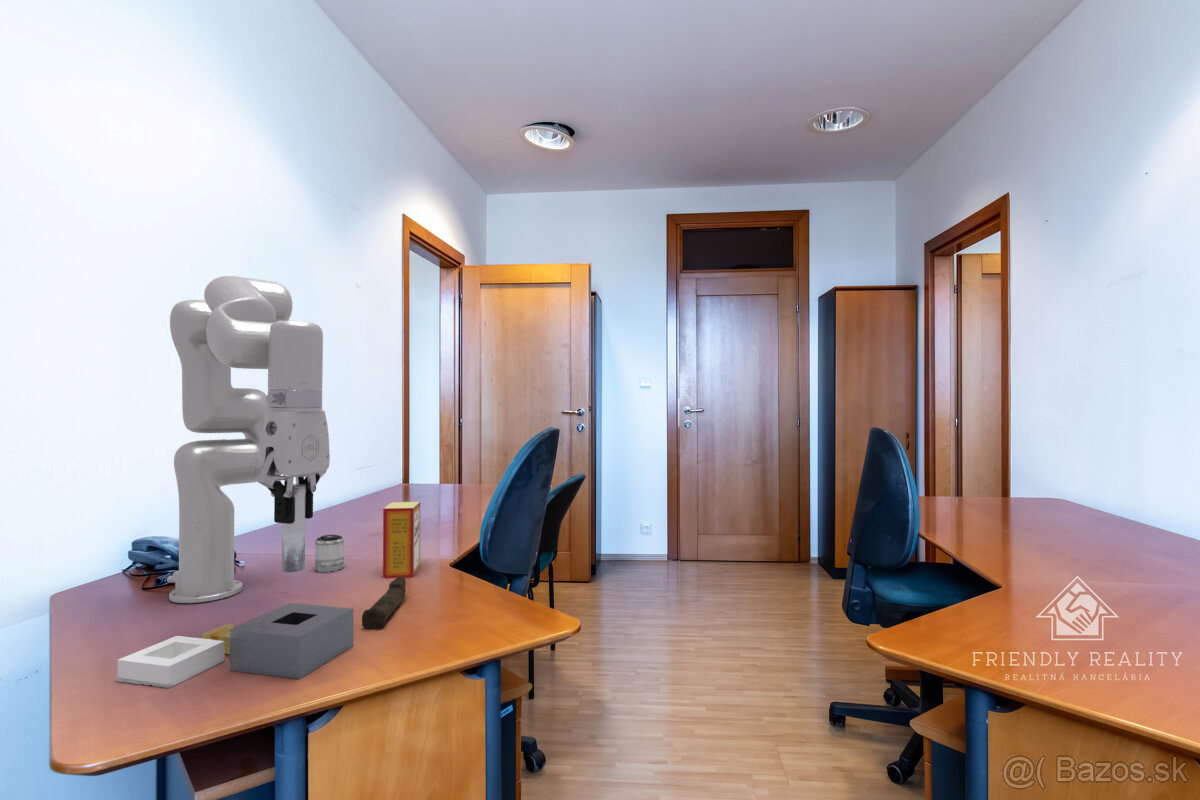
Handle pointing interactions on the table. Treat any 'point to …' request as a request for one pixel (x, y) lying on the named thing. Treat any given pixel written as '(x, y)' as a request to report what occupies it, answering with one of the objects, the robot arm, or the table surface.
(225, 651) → the key
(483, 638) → the table surface
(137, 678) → the tray
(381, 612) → the hand tool
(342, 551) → the camera lens
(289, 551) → the grey cylindrical peg
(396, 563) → the baking soda box
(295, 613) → the socket
